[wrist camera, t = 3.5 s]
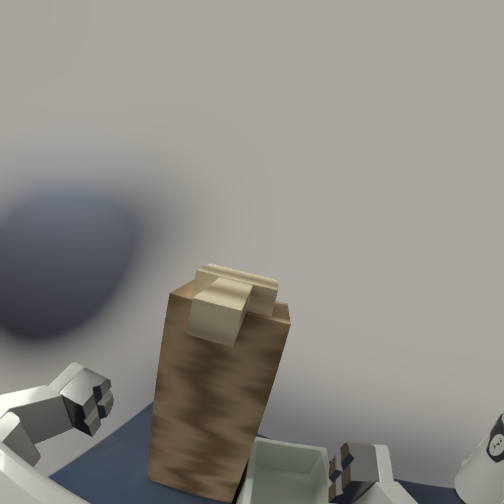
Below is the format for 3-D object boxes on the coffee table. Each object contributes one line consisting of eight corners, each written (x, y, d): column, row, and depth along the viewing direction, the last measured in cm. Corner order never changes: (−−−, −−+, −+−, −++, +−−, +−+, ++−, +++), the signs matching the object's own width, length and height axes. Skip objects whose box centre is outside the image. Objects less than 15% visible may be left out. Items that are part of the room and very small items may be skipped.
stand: (238, 465, 35) (287, 303, 34) (231, 503, 28) (290, 324, 26) (165, 445, 36) (193, 280, 34) (147, 479, 28) (169, 293, 26)
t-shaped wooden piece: (205, 285, 33) (210, 263, 33) (272, 302, 33) (277, 279, 32) (153, 323, 18) (159, 286, 18) (268, 355, 18) (278, 318, 18)
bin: (312, 473, 36) (326, 447, 35) (322, 569, 17) (344, 548, 16) (242, 463, 36) (252, 435, 36) (225, 561, 18) (236, 542, 17)
